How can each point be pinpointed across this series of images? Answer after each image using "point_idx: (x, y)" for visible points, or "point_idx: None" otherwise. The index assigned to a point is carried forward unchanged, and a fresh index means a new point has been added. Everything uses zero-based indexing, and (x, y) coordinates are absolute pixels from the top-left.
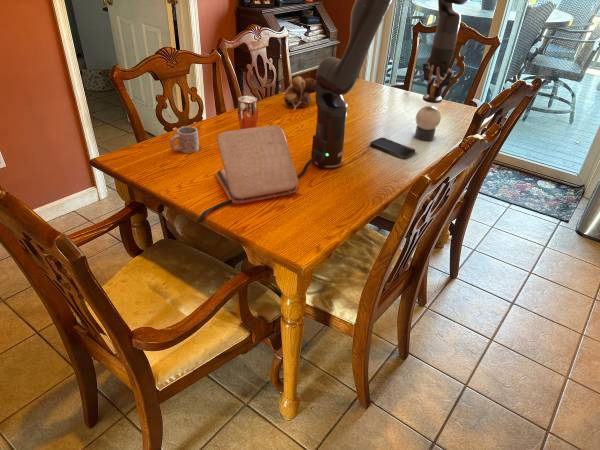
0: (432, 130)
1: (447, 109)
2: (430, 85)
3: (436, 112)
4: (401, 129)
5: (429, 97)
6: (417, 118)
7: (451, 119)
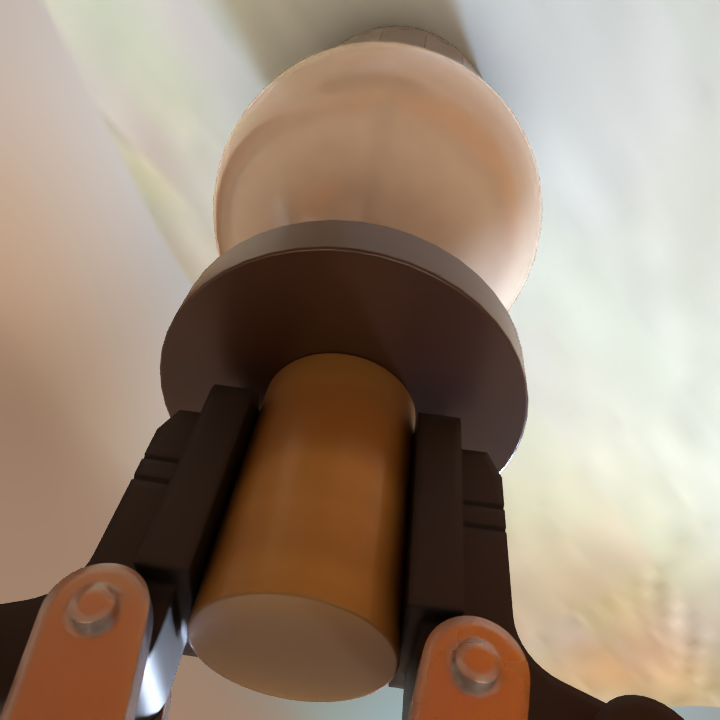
0: None
1: (599, 639)
2: (406, 590)
3: None
4: (684, 87)
5: (359, 359)
6: (445, 63)
7: None
